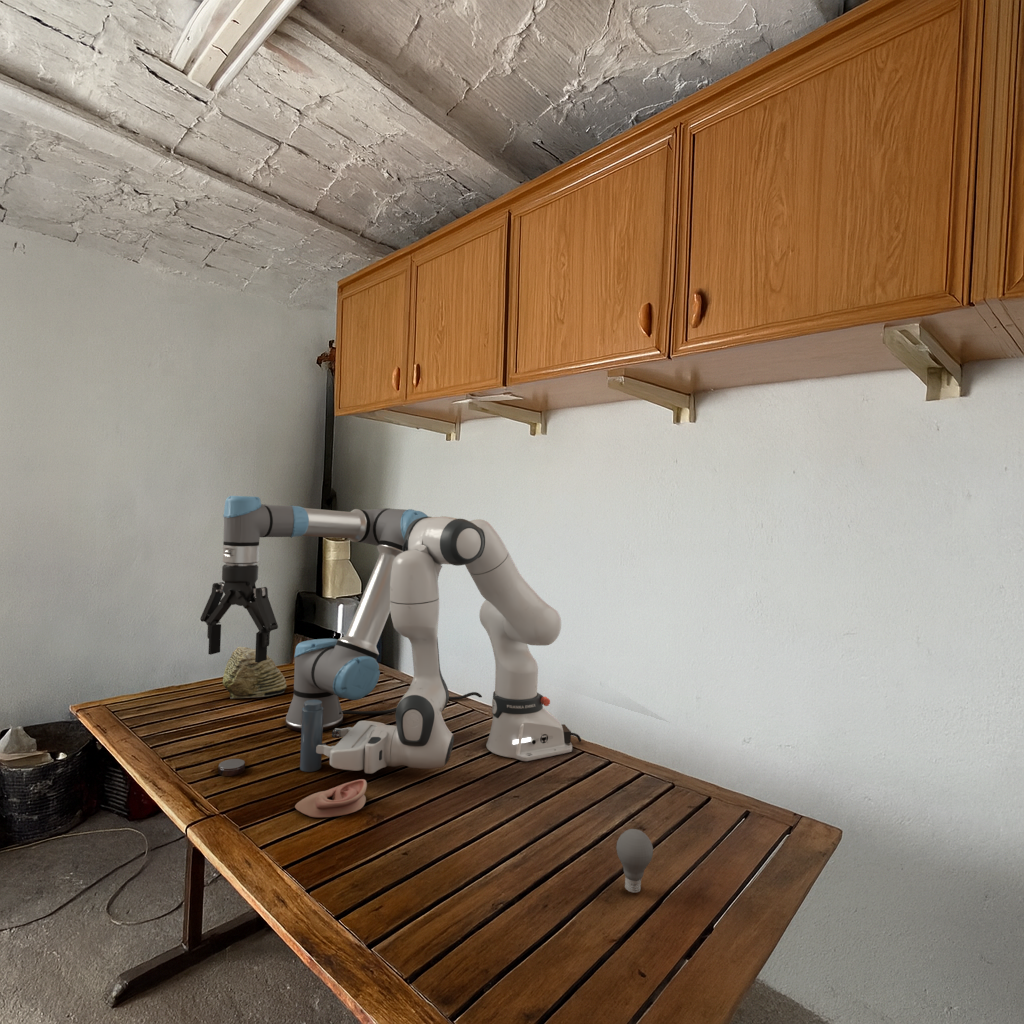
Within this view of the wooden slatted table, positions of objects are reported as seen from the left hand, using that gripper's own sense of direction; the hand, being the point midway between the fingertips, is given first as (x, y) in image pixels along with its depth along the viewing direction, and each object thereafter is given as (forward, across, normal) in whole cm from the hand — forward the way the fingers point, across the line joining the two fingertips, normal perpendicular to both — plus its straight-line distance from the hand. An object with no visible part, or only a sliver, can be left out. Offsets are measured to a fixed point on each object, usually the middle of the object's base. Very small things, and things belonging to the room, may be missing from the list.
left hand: (237, 657), depth 144 cm
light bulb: (+26, +92, -6) cm, 96 cm away
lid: (+25, 0, 0) cm, 25 cm away
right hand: (+20, +17, +10) cm, 28 cm away
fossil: (+26, -35, +44) cm, 62 cm away
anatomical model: (+26, +30, -4) cm, 40 cm away
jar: (+26, +14, +9) cm, 31 cm away
